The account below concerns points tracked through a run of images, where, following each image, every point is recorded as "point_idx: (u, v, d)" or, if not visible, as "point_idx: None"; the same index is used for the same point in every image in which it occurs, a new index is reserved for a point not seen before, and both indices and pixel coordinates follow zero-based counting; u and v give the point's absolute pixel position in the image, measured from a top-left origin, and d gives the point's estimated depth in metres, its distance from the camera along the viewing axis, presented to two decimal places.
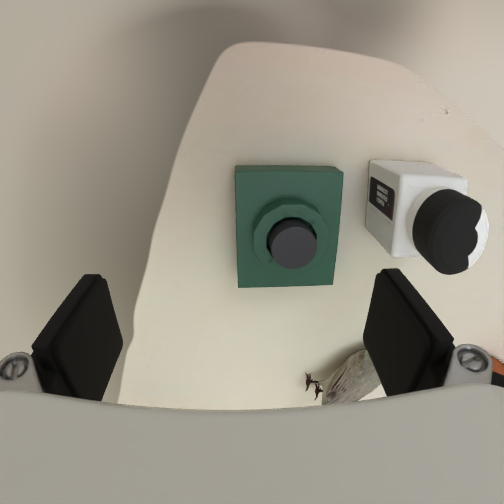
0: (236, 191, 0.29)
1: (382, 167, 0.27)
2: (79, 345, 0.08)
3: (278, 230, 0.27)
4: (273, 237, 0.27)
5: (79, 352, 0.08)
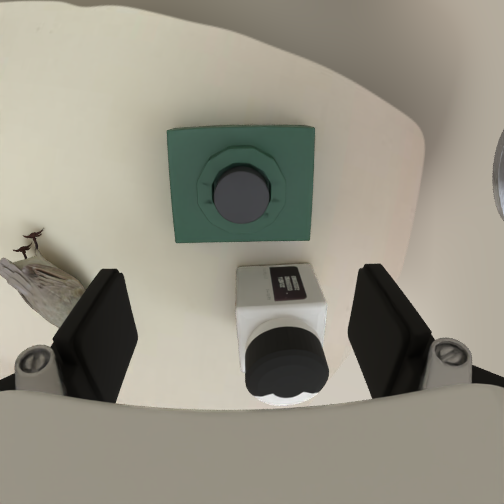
0: (292, 128, 0.24)
1: (316, 279, 0.30)
2: (99, 338, 0.08)
3: (261, 177, 0.23)
4: (253, 172, 0.23)
5: (99, 345, 0.08)
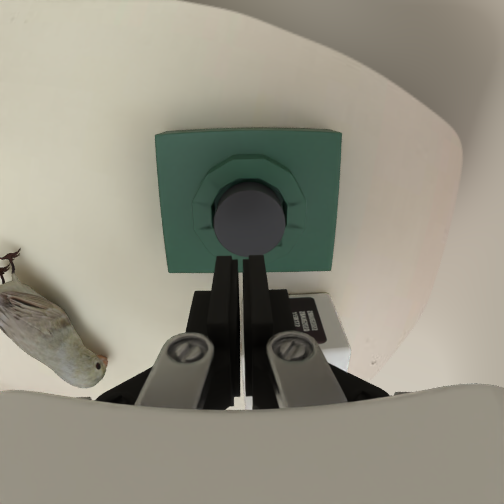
0: (314, 132, 0.19)
1: (337, 315, 0.24)
2: None
3: (275, 198, 0.18)
4: (265, 191, 0.17)
5: None
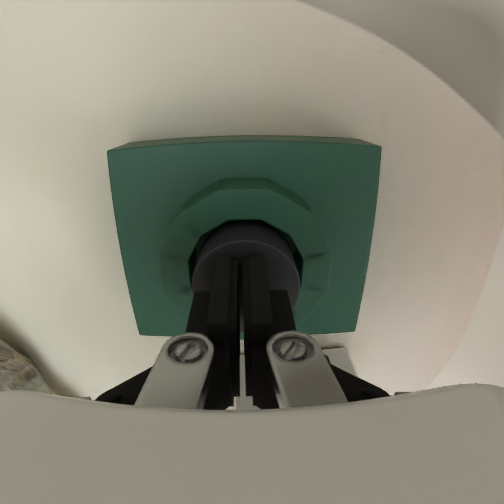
0: (342, 145, 0.13)
1: None
2: (238, 322, 0.09)
3: (285, 249, 0.12)
4: (270, 240, 0.11)
5: (238, 329, 0.09)
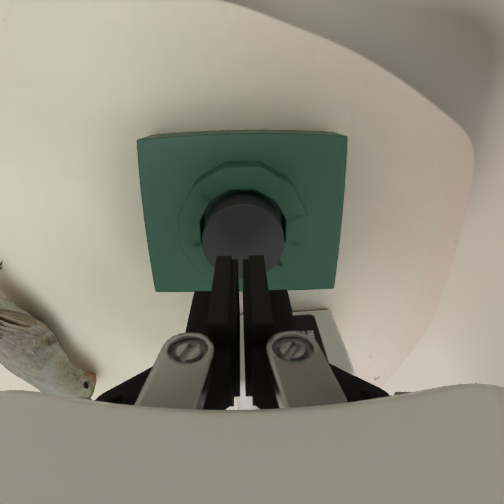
0: (316, 136, 0.17)
1: (339, 335, 0.22)
2: None
3: (272, 212, 0.16)
4: (261, 205, 0.15)
5: None
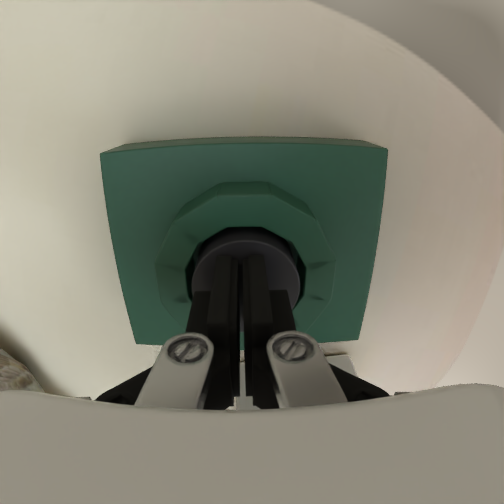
0: (347, 147, 0.12)
1: None
2: (237, 322, 0.09)
3: (285, 249, 0.12)
4: (270, 240, 0.11)
5: (238, 329, 0.09)
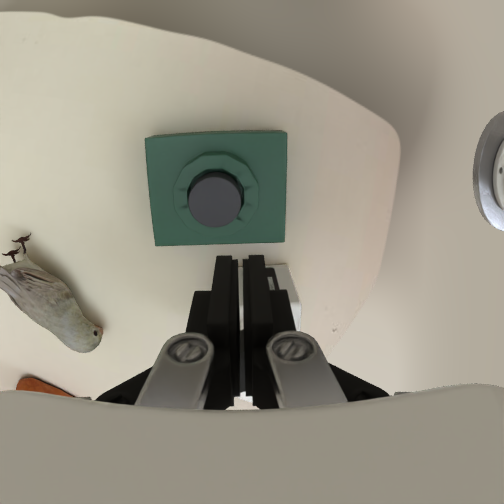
0: (265, 133, 0.25)
1: (292, 280, 0.31)
2: None
3: (233, 183, 0.24)
4: (225, 178, 0.24)
5: None
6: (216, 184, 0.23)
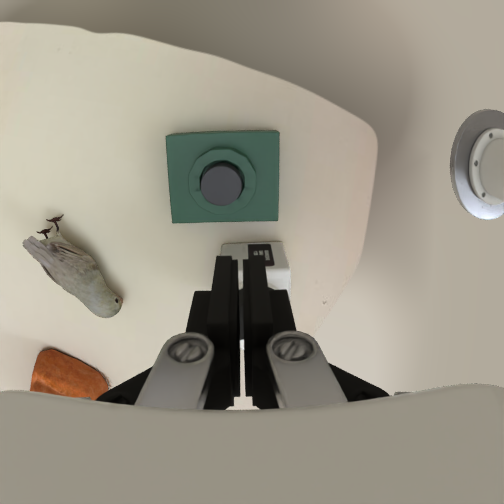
0: (261, 132, 0.32)
1: (284, 253, 0.37)
2: None
3: (235, 171, 0.31)
4: (229, 167, 0.30)
5: None
6: (222, 171, 0.30)
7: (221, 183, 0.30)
